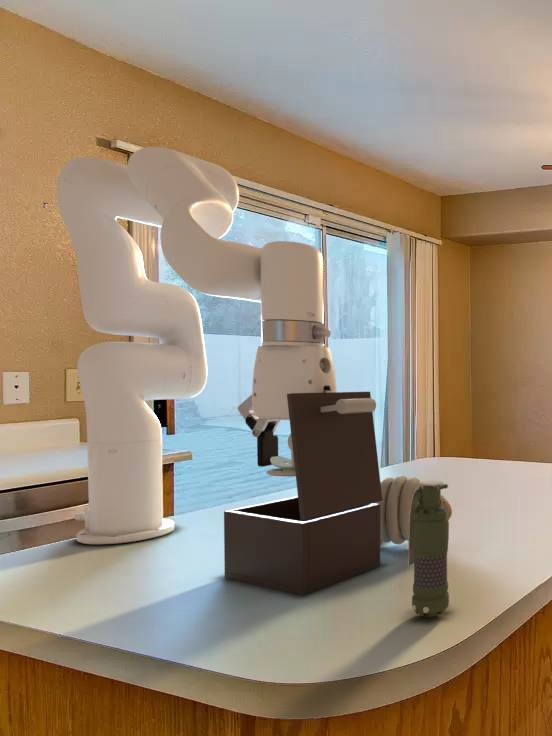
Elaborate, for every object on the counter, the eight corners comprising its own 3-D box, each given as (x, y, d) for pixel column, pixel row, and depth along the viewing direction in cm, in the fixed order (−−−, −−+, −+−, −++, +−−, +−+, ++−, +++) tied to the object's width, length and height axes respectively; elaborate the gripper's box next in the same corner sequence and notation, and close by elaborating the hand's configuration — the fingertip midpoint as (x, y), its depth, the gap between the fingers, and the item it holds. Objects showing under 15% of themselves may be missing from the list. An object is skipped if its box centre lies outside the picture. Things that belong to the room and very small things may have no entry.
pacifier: (307, 480, 77) (332, 471, 83) (305, 432, 77) (331, 427, 83) (254, 478, 78) (283, 470, 84) (253, 431, 78) (281, 426, 84)
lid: (286, 394, 72) (318, 388, 70) (366, 392, 83) (395, 387, 81) (300, 520, 72) (332, 518, 69) (378, 500, 83) (408, 499, 81)
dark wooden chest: (224, 577, 78) (223, 511, 77) (306, 552, 89) (306, 494, 89) (303, 595, 72) (302, 523, 71) (380, 565, 83) (380, 503, 83)
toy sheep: (447, 554, 89) (448, 481, 88) (329, 557, 86) (329, 482, 86) (455, 535, 99) (455, 470, 99) (350, 538, 97) (349, 471, 97)
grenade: (456, 610, 68) (456, 480, 67) (434, 624, 64) (434, 486, 63) (424, 605, 69) (424, 478, 69) (401, 618, 65) (401, 483, 65)
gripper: (367, 338, 82) (368, 464, 83) (257, 338, 85) (258, 460, 86) (334, 334, 75) (335, 473, 75) (214, 334, 78) (216, 468, 79)
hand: (294, 465), depth 81 cm, fingers closed on pacifier, 7 cm apart
